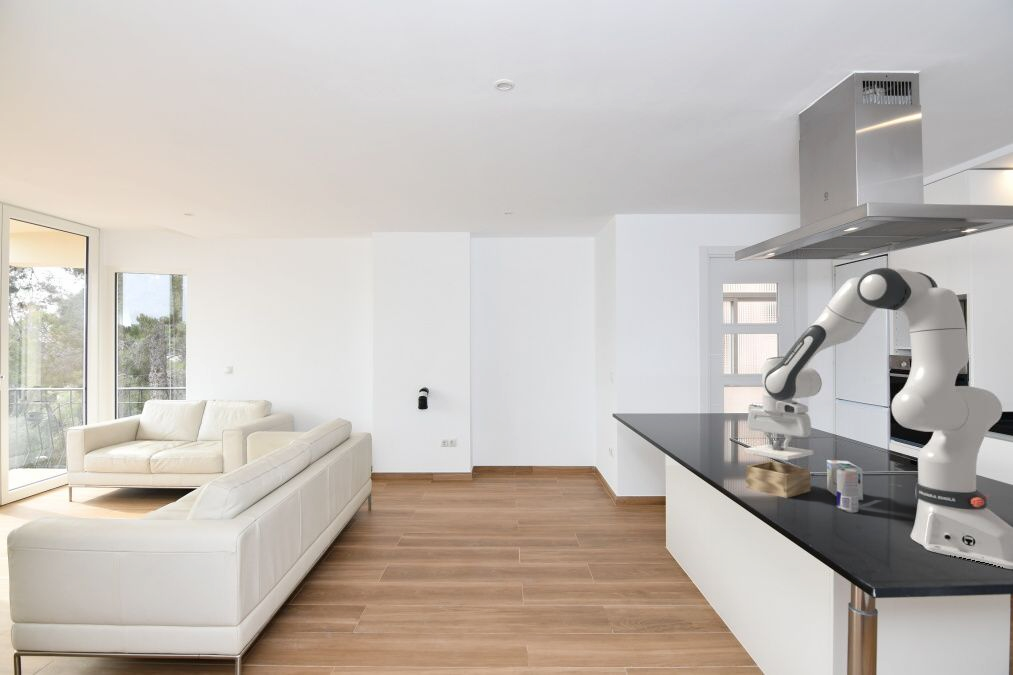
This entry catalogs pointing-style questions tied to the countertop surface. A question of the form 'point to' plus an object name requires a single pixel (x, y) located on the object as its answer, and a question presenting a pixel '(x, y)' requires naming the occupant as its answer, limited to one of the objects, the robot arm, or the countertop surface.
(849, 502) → the energy drink
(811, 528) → the countertop surface
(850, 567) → the countertop surface
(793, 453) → the lid
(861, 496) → the light bulb box
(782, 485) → the box
